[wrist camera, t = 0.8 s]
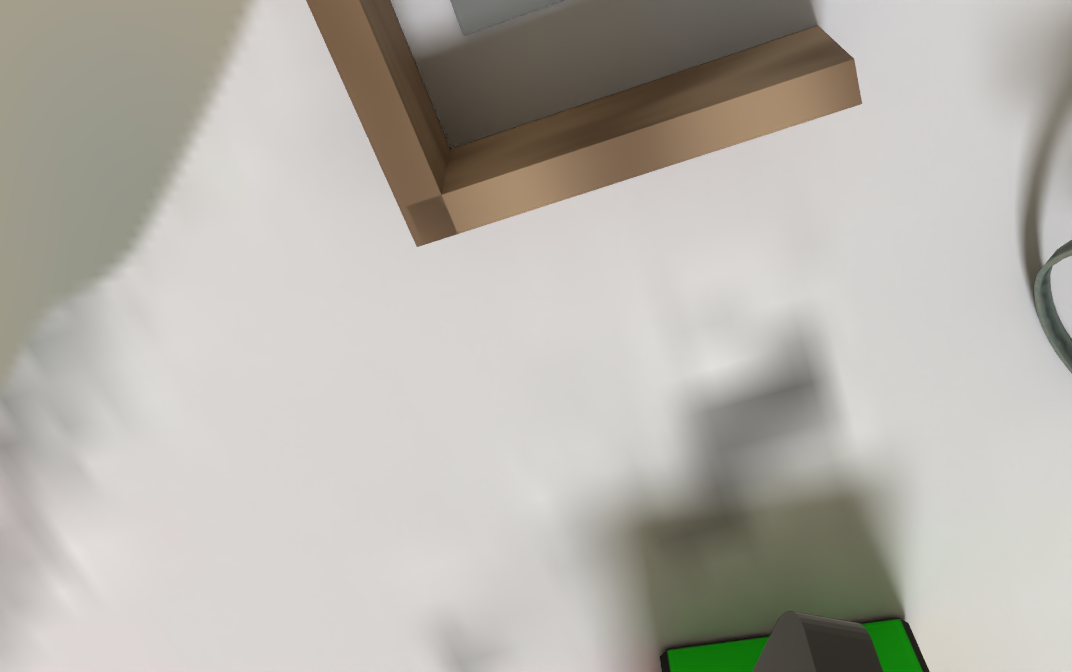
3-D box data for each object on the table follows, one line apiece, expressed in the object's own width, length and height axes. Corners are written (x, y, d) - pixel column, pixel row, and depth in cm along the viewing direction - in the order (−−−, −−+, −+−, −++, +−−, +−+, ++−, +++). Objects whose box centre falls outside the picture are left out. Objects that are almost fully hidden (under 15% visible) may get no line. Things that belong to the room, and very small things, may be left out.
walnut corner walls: (773, -207, 24) (808, -203, 21) (825, 66, 28) (862, 104, 25) (327, -39, 26) (300, -13, 23) (428, 197, 30) (417, 246, 27)
